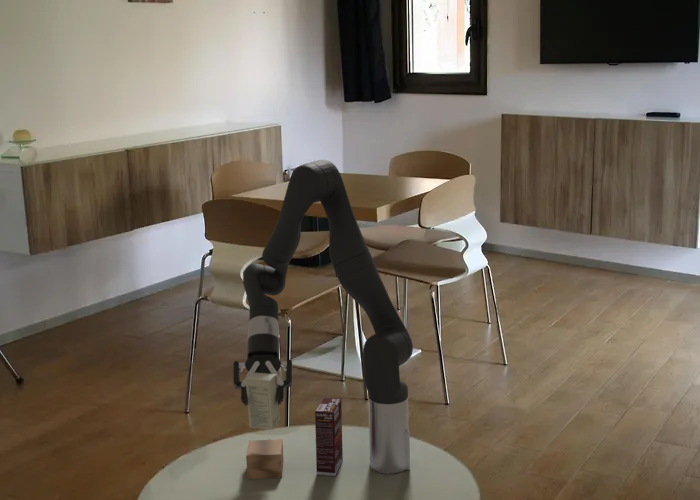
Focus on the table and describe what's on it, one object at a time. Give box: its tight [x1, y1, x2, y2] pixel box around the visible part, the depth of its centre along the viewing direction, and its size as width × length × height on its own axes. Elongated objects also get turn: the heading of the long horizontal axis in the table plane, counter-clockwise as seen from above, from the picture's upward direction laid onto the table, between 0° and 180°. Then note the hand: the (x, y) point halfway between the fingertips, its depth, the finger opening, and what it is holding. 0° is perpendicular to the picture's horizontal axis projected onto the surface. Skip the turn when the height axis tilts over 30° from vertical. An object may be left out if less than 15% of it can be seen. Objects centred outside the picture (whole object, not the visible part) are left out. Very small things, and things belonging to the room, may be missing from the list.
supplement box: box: [314, 397, 344, 477], centre depth 205 cm, size 9×5×16 cm, turn 168°
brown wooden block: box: [245, 438, 284, 480], centre depth 206 cm, size 8×8×6 cm
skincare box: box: [245, 372, 281, 430], centre depth 203 cm, size 6×4×12 cm
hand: (262, 403), depth 201 cm, fingers closed on skincare box, 7 cm apart
